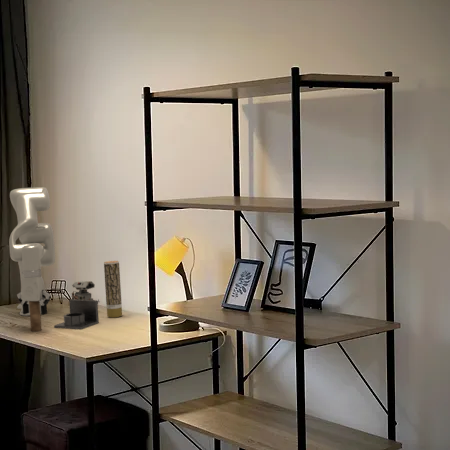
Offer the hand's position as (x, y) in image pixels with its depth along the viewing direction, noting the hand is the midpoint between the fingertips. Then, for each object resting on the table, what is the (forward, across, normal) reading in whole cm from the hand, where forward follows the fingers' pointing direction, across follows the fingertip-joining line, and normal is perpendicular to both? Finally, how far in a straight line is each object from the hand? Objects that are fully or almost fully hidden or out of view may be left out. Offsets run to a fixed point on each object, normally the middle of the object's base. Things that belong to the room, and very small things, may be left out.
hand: (35, 314), depth 351 cm
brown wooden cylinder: (+7, 0, 0) cm, 7 cm away
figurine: (+7, -1, +38) cm, 38 cm away
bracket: (+7, +12, +13) cm, 19 cm away
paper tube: (+7, +18, +34) cm, 38 cm away
